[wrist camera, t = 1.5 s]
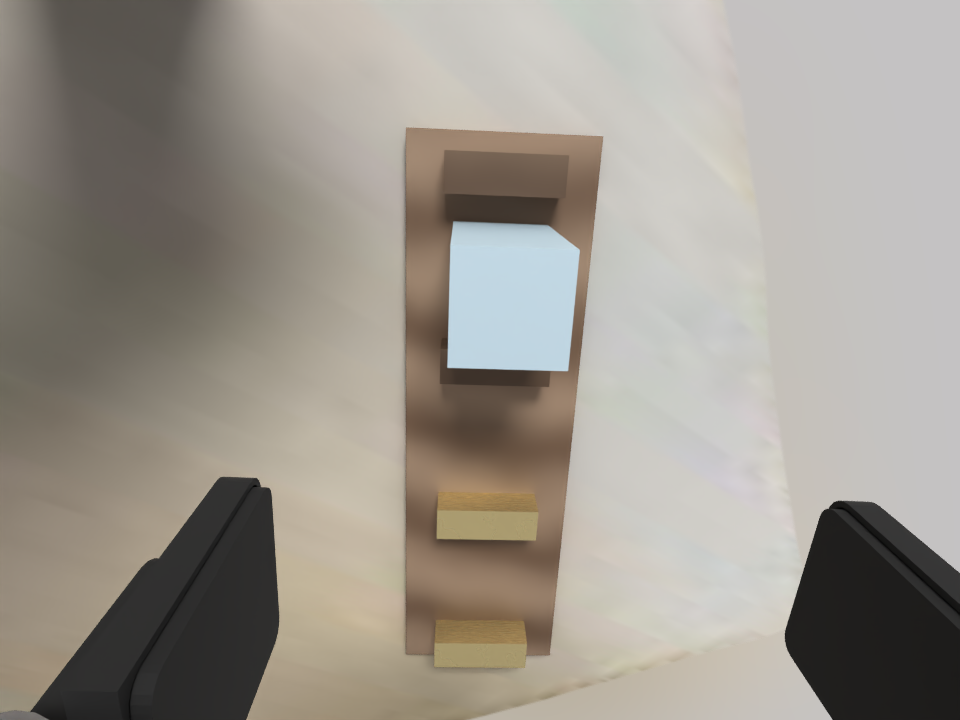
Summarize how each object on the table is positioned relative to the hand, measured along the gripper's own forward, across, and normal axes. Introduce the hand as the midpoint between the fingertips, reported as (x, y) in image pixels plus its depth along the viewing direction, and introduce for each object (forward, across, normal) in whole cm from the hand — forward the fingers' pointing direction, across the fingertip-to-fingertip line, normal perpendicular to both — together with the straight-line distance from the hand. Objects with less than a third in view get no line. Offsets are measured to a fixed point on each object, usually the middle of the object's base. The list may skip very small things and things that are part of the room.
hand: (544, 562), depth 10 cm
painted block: (+23, -1, -1) cm, 23 cm away
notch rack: (+24, -1, +9) cm, 26 cm away
